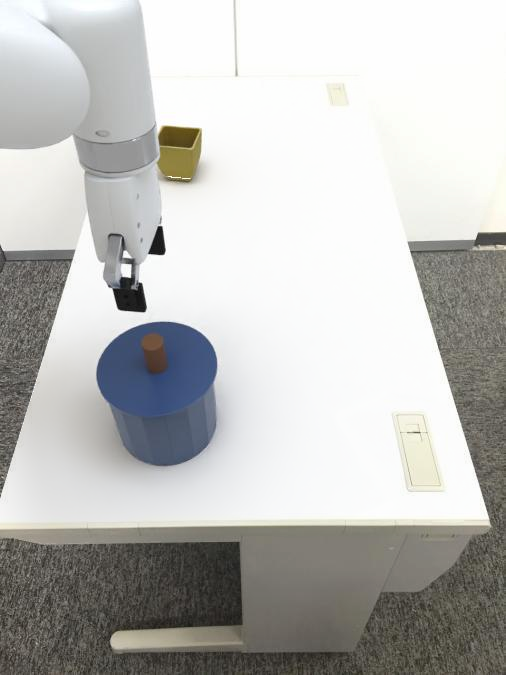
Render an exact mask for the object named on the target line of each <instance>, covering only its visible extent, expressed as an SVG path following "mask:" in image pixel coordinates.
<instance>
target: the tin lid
mask: <svg viewBox="0 0 506 675" xmlns="http://www.w3.org/2000/svg"><path fill="white" fill-rule="evenodd" d="M217 373H218V357H217V352H216V350H215V348H214V346H213V344H212V343H211V341H210V340H209V339H208V338H207V336H205V334H203V333H202V332H201V331H199V330H197V329H196V328H194V327H192V326H190V325H187V324H184V323H181V322H176V321H164V320H163V321H152V322H151V321H150V322H146V323H142V324H139V325H136V326H133V327H131V328H129V329H127V330H125V331H123V332H122V333H120V334H119V335H118V336H116V337H115V338H113V340H112V341H111V342H110V343H108V345H107V346H106V347H105V348H104V349H103V351H102V353H101V355H100V357H99V359H98V361H97V365H96V372H95V374H96V375H95V377H96V378H95V379H96V384H97V387H98V389H99V392H100V394H101V396H102V398H103V399H104V400H105V401H106V403H107V404H108V405H109V404H110V405H111V406H112V407H113V408H115V409H116V410H118V411H120V412H121V413H124V414H126V415H129V416H132V417H136V418H143V419H158V418H165V417H170V416H173V415H176V414H179V413H181V412H184V411H186V410H188V409H189V408H191V407H193V406H194V405H195V404H197V403H198V402H199V401H200V400H201V399H203V398H204V397H205V395H206V394H207V393H208V392H209V390H210V389H211V387H212V385H213V383H214V384H215V381H216V378H217ZM110 405H109V406H110Z"/></svg>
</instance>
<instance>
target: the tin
mask: <svg viewBox="0 0 506 675" xmlns="http://www.w3.org/2000/svg"><path fill="white" fill-rule="evenodd" d="M215 387H216V386H215V382H214V383H213V385H212V387H211V389H210V390H209V392H208V393H207V394H206V395H205V397H204V398H203V399H201V400H200V401H199V402H198V403H197V404H195V405H194V406H193V407H191V408H189V409H188V410H186V411H184V412H181V413H179V414H176V415H173V416H170V417H165V418H158V419H143V418H136V417H132V416H129V415H126V414H124V413H121V412H120V411H118V410H116V409H115V408H113V407H112V406H111V405H110V404H109V403H108V405H109V408H110V410H111V413H112V416H113V419H114V422H115V425H116V428H117V431H118V434H119V437H120V439H121V442H122V444H123V446H124V447H125V448H126V450H127V451H128V452H129V454H131V455H132V456H133V457H134V458H135V459H137V460H138V461H141V462H143V463H145V464H147V465H152V466H159V467H168V466H176V465H179V464H180V465H181V464H183V463H185V462H189V460H192V459H193V458H195V457H196V456H198V455H199V454H200V453H202V452H203V451H204V450H205V449H206V448H207V446H208V445H209V444H210V443H211V441H212V440H213V437H214V435H215V432H216V428H217V400H216V388H215Z"/></svg>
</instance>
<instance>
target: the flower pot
mask: <svg viewBox="0 0 506 675" xmlns="http://www.w3.org/2000/svg"><path fill="white" fill-rule="evenodd" d="M157 132H158V140H159V148H160V158H159V160H158V162H157V163H156V166H157V167H158V169H159V171H160V173H161V174H163V176H164V175H165V176H172V177H181V178H171V177H165V176H164V177H165V178H166V179H167V180H171V181H181V182H182V181H183V182H191V180H192V179H193V177H194V174H195V172H196V169H197V167H198V164H199V162H200V159H201V154H202V145H203V144H202V143H203V142H202V141H203V140H202V139H203V128H202V127H192V126H191V127H190V126H177V125H168V124H167V125H166V124H165V125H164V124H163V125H161V127H160V128H159V131H157ZM182 178H191V179H182Z"/></svg>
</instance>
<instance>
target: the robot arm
mask: <svg viewBox="0 0 506 675" xmlns="http://www.w3.org/2000/svg"><path fill="white" fill-rule="evenodd" d="M147 46H148V45H147V38H146V30H145V20H144V15H143V10H142V4H141V2H140V0H0V150H20V151H21V150H35V149H37V150H38V149H42V148H43V149H44V148H48V147H51V146H55V145H58V144H60V143H62V142H64V141H65V140H67V139H69V138H70V137H71V136H72V139H73V143H74V146H75V147H74V148H75V151H76V155H77V159H78V164H79V165H80V167H81V168H82V169H83V170H84V175H83V180H84V181H83V182H84V195H85V203H86V211H87V215H88V221H89V226H90V227H89V228H90V233H91V237H92V241H93V247H94V251H95V255H96V257H97V260H98V262H100V263H102V264H103V263H104V266H103V271H102V279H103V281H104V282H105V283H106V285H107V287H108V288H109V289H112V293H113V297H114V301H115V305H116V308H117V310H118V311H121V312H131V313H146V312H147V309H148V305H147V299H146V294H145V289H144V285H143V282H140V266H141V265H142V264H143V263H144V262H145V261H146V259H147V257H148V255H150V256H151V255H152V256H164V255H165V254H166V252H167V249H166V241H165V240H166V239H165V234H164V227H163V225H162V221H163V217H162V210H163V206H162V193H161V187H160V180H159V175H158V174H159V173H158V169H157V162H158V160H159V158H160V148H159V140H158V132H159V131H158V127H157V126H158V125H157V117H156V110H155V109H156V108H155V101H154V94H153V86H152V77H151V68H150V61H149V52H148V47H147ZM124 251H125V252H127V254H128V255H129V257H124V253H125V252H124ZM122 265H130V277H128V276H124V275H123V273H122Z"/></svg>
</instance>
